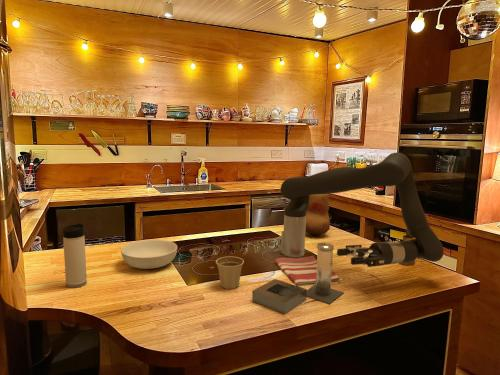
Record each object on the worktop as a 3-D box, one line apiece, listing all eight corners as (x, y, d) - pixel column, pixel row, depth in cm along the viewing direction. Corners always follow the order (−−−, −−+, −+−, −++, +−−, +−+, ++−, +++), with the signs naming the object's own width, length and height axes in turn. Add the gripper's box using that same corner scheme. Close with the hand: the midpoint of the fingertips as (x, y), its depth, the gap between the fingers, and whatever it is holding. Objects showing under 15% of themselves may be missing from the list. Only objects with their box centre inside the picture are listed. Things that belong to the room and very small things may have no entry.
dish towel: (312, 260, 149) (313, 254, 149) (340, 283, 127) (341, 276, 127) (274, 263, 145) (274, 257, 145) (296, 288, 123) (296, 280, 122)
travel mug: (91, 281, 123) (88, 224, 120) (76, 289, 117) (73, 229, 114) (77, 278, 125) (74, 222, 122) (61, 286, 119) (58, 227, 116)
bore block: (252, 301, 111) (252, 290, 111) (274, 288, 120) (275, 278, 120) (284, 314, 104) (285, 302, 103) (306, 299, 113) (306, 289, 112)
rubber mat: (301, 294, 116) (301, 293, 116) (316, 285, 124) (316, 283, 124) (329, 304, 110) (329, 303, 110) (343, 293, 118) (343, 292, 118)
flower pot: (222, 293, 116) (222, 268, 115) (211, 282, 124) (211, 258, 123) (248, 288, 120) (248, 263, 119) (236, 278, 129) (236, 254, 127)
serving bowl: (109, 269, 134) (108, 251, 133) (145, 252, 153) (144, 236, 152) (156, 279, 127) (155, 260, 126) (187, 260, 146) (187, 243, 145)
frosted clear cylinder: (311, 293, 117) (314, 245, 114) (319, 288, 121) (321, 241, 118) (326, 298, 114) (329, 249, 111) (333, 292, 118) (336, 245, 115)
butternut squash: (301, 238, 179) (303, 188, 175) (302, 231, 192) (304, 184, 188) (329, 240, 177) (332, 189, 173) (328, 232, 190) (331, 185, 186)
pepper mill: (416, 266, 144) (420, 222, 141) (399, 265, 145) (402, 221, 142) (412, 260, 150) (416, 218, 147) (395, 259, 151) (399, 217, 149)
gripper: (400, 271, 116) (355, 276, 111) (373, 256, 129) (332, 260, 125) (402, 249, 114) (357, 252, 110) (374, 236, 128) (333, 239, 123)
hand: (344, 256), depth 117 cm, fingers open, 8 cm apart
